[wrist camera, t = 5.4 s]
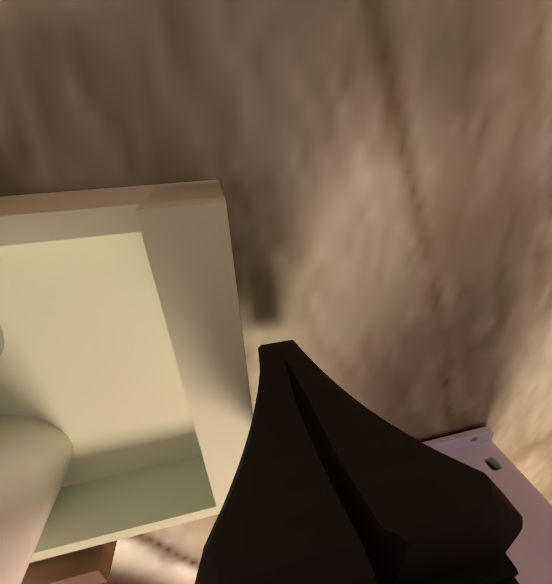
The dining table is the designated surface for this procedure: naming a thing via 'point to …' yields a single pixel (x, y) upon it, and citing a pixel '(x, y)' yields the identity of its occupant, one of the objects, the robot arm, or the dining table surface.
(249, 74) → the dining table surface
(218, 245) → the tray
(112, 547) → the rack
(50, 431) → the pale pink cylinder
